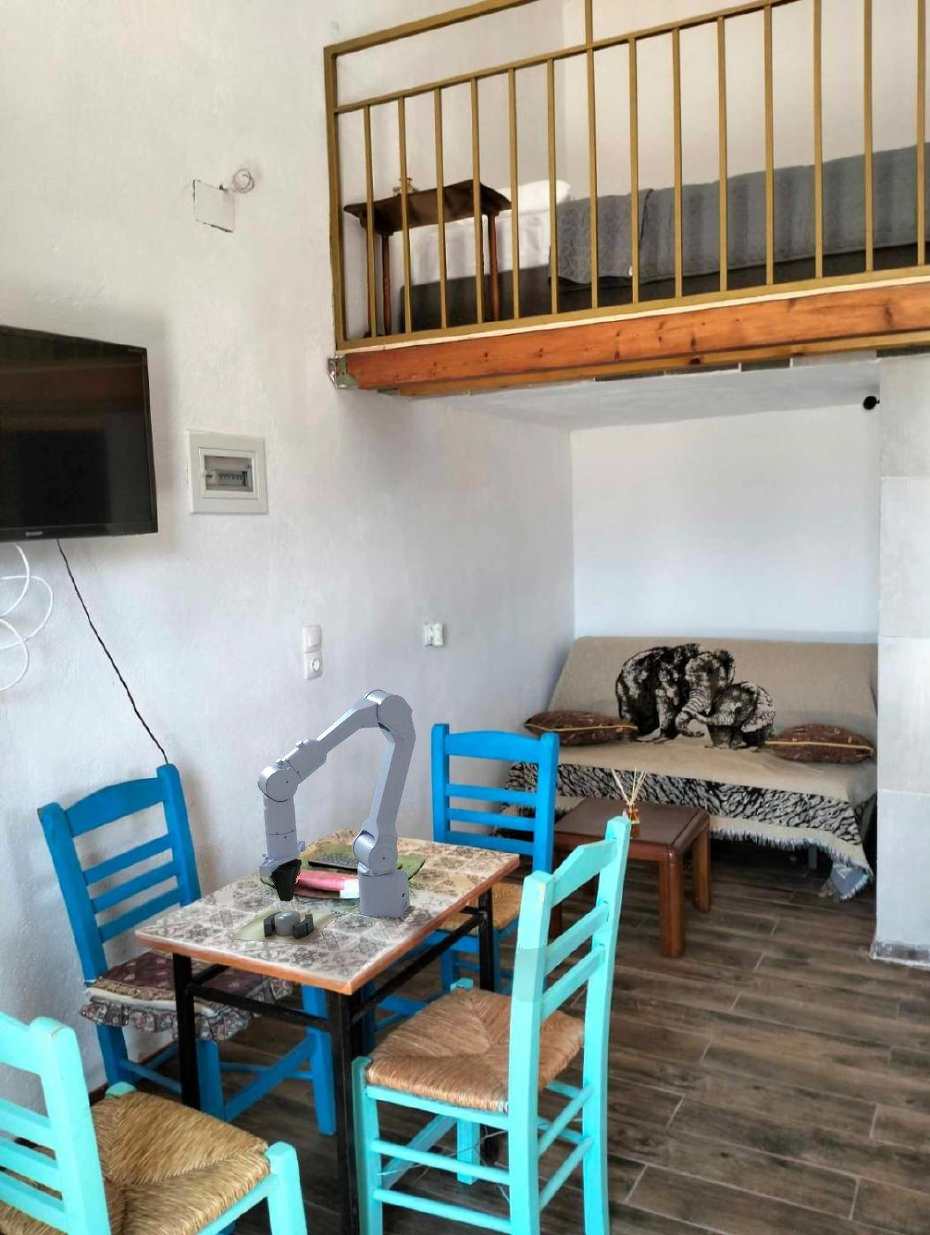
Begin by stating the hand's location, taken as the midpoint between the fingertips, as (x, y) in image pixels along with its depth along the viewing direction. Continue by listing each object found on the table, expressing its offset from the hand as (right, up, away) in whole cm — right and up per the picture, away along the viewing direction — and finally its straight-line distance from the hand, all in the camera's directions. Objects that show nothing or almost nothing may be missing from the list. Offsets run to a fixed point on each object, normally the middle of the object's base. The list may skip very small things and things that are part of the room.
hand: (286, 899), depth 188 cm
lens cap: (0, -6, +1) cm, 6 cm away
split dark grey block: (0, -6, +1) cm, 6 cm away
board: (-1, -7, +3) cm, 8 cm away
